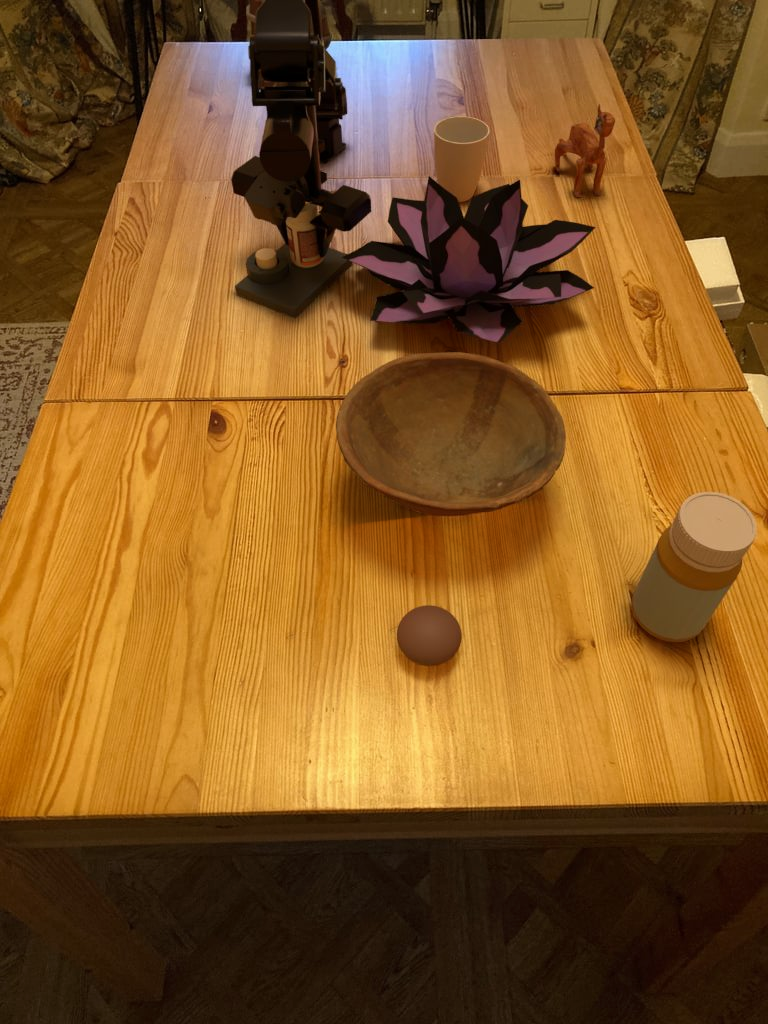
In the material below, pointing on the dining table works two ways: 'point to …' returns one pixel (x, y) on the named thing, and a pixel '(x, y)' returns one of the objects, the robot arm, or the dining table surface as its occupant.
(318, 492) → the dining table surface
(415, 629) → the brown flattened ball
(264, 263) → the button
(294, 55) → the robot arm
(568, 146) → the orange animal figurine
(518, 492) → the bowl
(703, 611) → the bottle
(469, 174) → the cup
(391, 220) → the decorative flower
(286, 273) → the dark flat slab piece
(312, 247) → the pill bottle
